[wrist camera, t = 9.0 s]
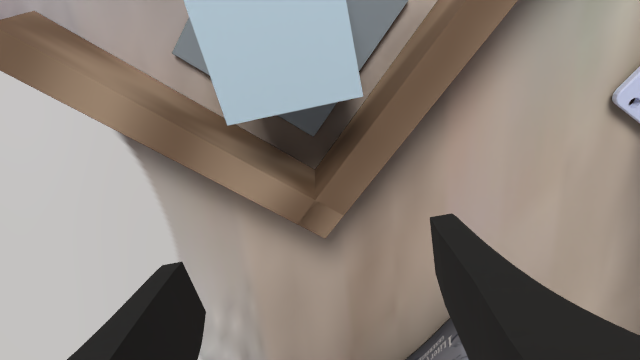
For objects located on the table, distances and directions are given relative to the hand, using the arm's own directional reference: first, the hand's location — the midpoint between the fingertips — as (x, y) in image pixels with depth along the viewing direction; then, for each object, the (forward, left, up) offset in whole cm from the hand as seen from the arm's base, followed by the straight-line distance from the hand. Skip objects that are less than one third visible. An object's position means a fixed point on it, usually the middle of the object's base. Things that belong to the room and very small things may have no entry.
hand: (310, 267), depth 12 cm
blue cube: (+4, -4, -10) cm, 11 cm away
